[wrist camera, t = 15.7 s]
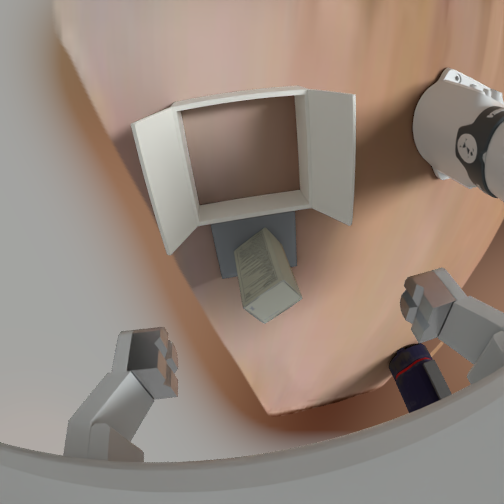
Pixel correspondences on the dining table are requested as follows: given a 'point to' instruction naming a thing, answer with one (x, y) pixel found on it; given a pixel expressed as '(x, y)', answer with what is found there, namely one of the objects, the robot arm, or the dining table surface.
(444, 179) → the robot arm
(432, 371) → the dark blue bottle
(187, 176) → the carton
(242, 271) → the skincare box
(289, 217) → the mat
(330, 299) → the dining table surface
